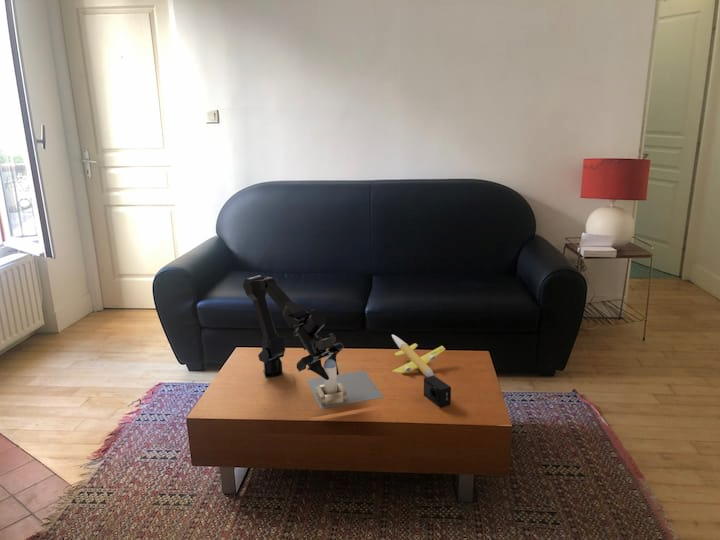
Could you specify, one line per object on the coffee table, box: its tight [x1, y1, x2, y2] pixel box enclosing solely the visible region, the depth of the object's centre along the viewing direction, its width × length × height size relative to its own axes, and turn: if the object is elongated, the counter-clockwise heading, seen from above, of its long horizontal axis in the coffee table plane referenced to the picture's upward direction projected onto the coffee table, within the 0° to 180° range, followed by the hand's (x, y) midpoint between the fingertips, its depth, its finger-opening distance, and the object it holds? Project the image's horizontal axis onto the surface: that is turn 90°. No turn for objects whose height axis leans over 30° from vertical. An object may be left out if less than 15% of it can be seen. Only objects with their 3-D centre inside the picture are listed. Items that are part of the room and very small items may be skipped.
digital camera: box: [423, 374, 452, 409], centre depth 187 cm, size 10×5×7 cm, turn 27°
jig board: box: [305, 370, 385, 410], centre depth 196 cm, size 23×23×1 cm
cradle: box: [316, 383, 347, 405], centre depth 189 cm, size 9×9×3 cm
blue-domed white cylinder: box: [323, 359, 337, 394], centre depth 188 cm, size 4×4×12 cm
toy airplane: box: [391, 334, 446, 377], centre depth 215 cm, size 26×7×30 cm
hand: (333, 377), depth 187 cm, fingers closed on blue-domed white cylinder, 4 cm apart
